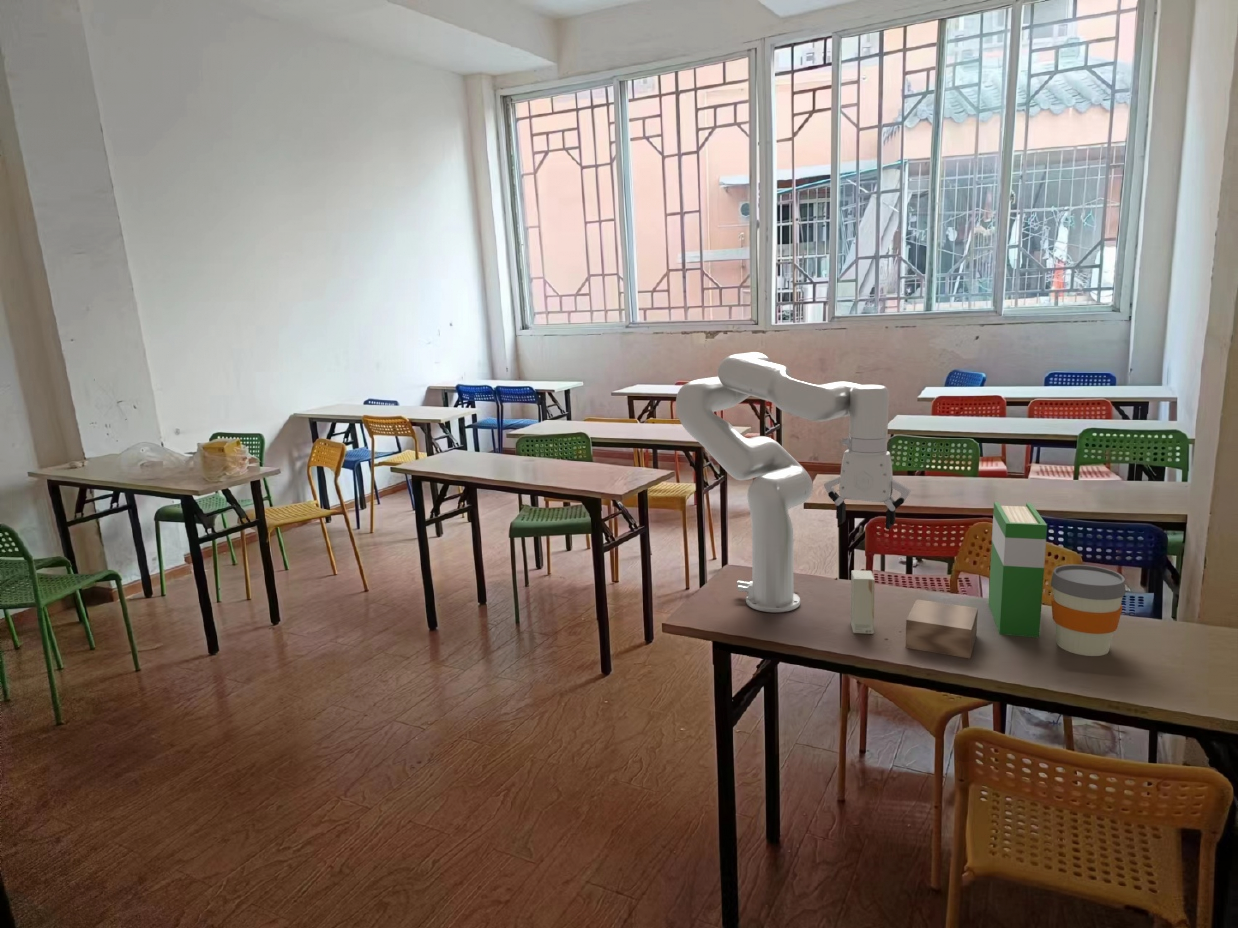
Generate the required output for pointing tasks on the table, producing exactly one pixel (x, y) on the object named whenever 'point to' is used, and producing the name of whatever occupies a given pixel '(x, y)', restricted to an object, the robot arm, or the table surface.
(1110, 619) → the reusable coffee cup
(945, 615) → the walnut block
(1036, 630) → the hardback book
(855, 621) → the skincare box
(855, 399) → the robot arm
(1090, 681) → the table surface
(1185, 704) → the table surface
